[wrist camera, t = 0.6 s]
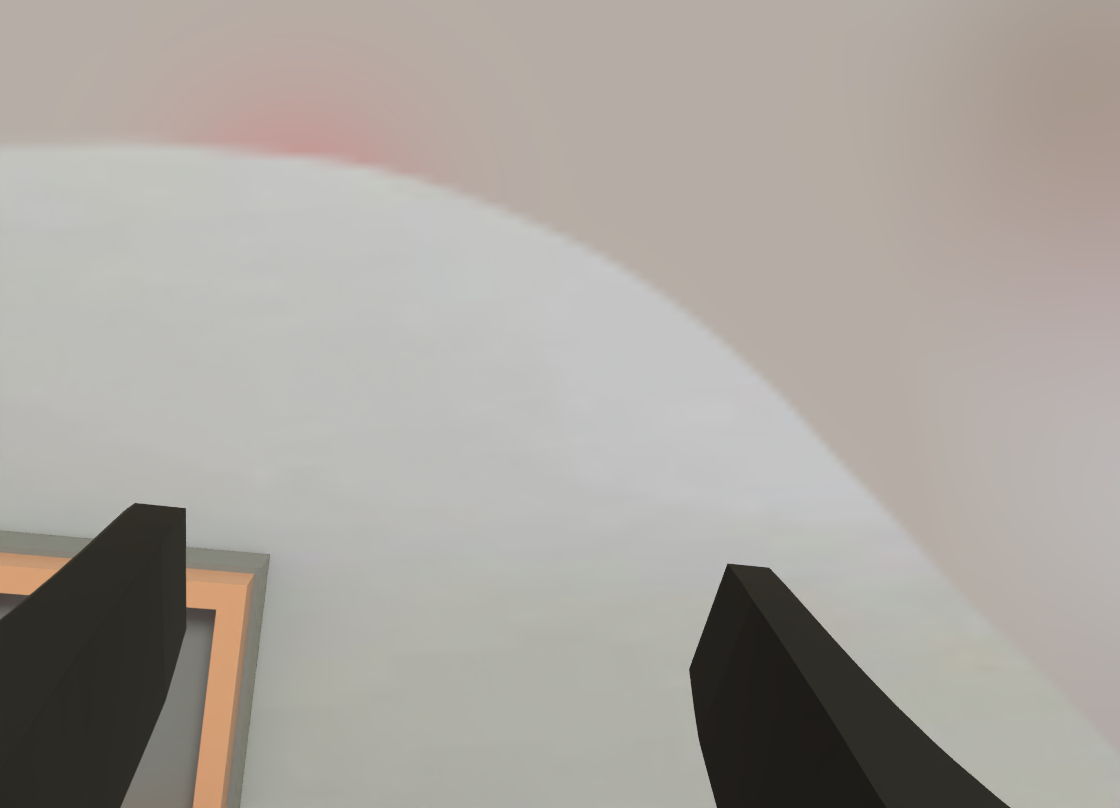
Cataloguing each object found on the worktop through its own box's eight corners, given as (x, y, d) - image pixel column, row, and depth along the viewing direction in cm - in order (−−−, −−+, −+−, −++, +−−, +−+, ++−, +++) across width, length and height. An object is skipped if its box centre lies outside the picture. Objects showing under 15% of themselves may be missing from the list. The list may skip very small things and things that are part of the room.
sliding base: (238, 813, 32) (220, 870, 28) (-50, 802, 30) (-107, 861, 27) (269, 554, 31) (254, 579, 28) (-20, 529, 30) (-74, 552, 26)
